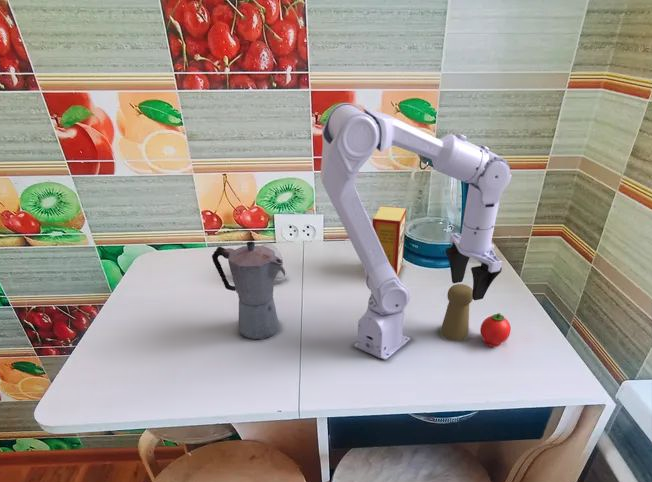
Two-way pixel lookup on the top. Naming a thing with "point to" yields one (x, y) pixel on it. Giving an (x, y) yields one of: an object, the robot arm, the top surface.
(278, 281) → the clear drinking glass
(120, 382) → the top surface
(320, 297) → the top surface
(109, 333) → the top surface
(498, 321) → the tomato
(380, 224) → the baking soda box
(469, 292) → the tan rounded tall piece
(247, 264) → the moka pot
